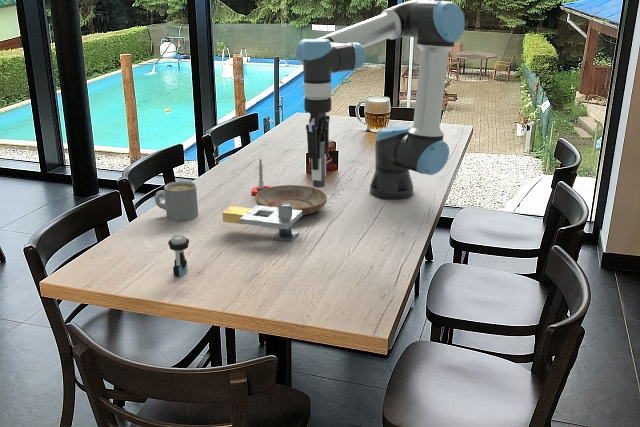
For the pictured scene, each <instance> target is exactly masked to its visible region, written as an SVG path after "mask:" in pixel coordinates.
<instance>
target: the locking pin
mask: <svg viewBox="0 0 640 427" xmlns="http://www.w3.org/2000/svg"><path fill="white" fill-rule="evenodd" d="M320 158H321V177H322V180H321V181H318V180H312V186H313V188H317V189H318V188H325V187H326V179H325V178H326V176H325V155H324V141H320Z"/></svg>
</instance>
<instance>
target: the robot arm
mask: <svg viewBox="0 0 640 427" xmlns="http://www.w3.org/2000/svg"><path fill="white" fill-rule="evenodd" d="M465 24H466V22H465V15H464V13H463V10H461V7H460V6H459V5H458V4H457V3H455V2H453V1H446V0H407V1H404V2H402V3H400V4H397V5H394V6H391V7H389V8H386V9H383V10H382V11H381V12H380V14H379V15H376V16H374V17H372V18H368V19H366V20H363V21H361V22H358V23H355V24H352V25H350V26H348V27H345V28H342V29H340V30H336V31H334V32H331V33H329V34H326V35H323V36H320V37H317V38H303V39H301V40H300V41H299V42H298V44H297V46H296V49H295V55H296V59H297V60H298V62H300V63H301V64H302V65H303V66H302V67H303V68H302V69H303V84H302V88H303V91H304V92H303V95H304V96H305V97H304V99H303V102H304V104H303V105H304V106H303V109H304V111H305V112H306V113H308V114H310V115H309V119H308V124H306V125H305V129H306V137H307V158H308V159H311V160H310V161H311V180H312V181H313V180H318V181H321V180H322V177H321V158H320V141H324V155H325V177H326V176H327V154H329V153H330V150H329V143H330V142H329V141H330V140H329V139H330V137H329V134H330V133H329V132H330V130H329V128H330V126H329V125H330V119H331V116H330V115H329V114H328V115H327V113H329V112H331V110H332V98H331V96H332V74H336V73H341V72H350V71H351V72H353V71H355V70H358V69H361V68H362V67H363V66H364V65H365V63H366V50H365V48H367V47H369V46H373V45H374V44H377V43H379V42H382V41H384V40H386V39H387V40H396V39H399V38H416V46H417V47H418V49H419V50H420V55H419V64H418V73H417V74H418V76H417V84H416V93H415V94H416V95H415V104H414V105H415V106H414V111H413V112H414V114H413V122H412V125H411V127H410V126H405V125H396V126H394V125H392V126H386V127H382V128H379V129H378V130H377V131H376V136H375V140H374V141H375V161H374V162H375V163H374V164H375V169H374V174H373V176H372V179H371V182H370V185H369V193H370V194H371V195H372V196H374V197H377V198H380V199H388V200H398V199H405V198H409V197H411V196H412V195H414V184H413V180H412V176H411V174H410V171H412V172H416V173H418V174H421V175H428V176H433V175H436V174H438V173H439V172H441V170H442V169H443V168H444V167H445V165H446V164H447V162H448V160H449V156H450V147H449V145H448V143H447V142H445V141H444V135H445V134H444V132H443V130H442V129H441V121H442V120H441V119H442V112H443V110H442V109H443V102H444V91H445V86H446V77H447V68H448V67H447V66H448V58H449V52H450V51H451V50H453V49H454V47H455V42H457V41H459V40H460V39H461V38H462V35H463V33H464V32H465V26H466V25H465Z"/></svg>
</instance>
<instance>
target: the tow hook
mask: <svg viewBox="0 0 640 427" xmlns="http://www.w3.org/2000/svg"><path fill="white" fill-rule="evenodd" d="M262 160H263V159H262V158H259V162H258V163H259V165H258V185H257V186H253V188H251V195H252V196H256V194H257V193H258V192H259V191H261V190H263V189H266V188H269V187H273V186H272V185H264V180H263V178H264V177H263V176H264V175H263V161H262Z"/></svg>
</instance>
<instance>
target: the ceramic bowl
mask: <svg viewBox="0 0 640 427" xmlns="http://www.w3.org/2000/svg"><path fill="white" fill-rule="evenodd" d="M254 196H255V198H254V199H255V203H256V205H259V206H268V207H276V208H278V204H280V203H291V204H292V209H294V210H302V216H307V215H311V214H313V213H317V212H318V211H319V210H321V209H322V208H323V207H324V206H325V205H326V204H327V200H328V196H327V194H326V193H325V191H322V190H321V189H318V188H316V187H314V186H313V187H312V186H307V185H298V184H286V185H276V186H275V185H274V186H272V187H269V188H266V189H263V190H261V191H259V192H258V193H257V194H256V195H254Z"/></svg>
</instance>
